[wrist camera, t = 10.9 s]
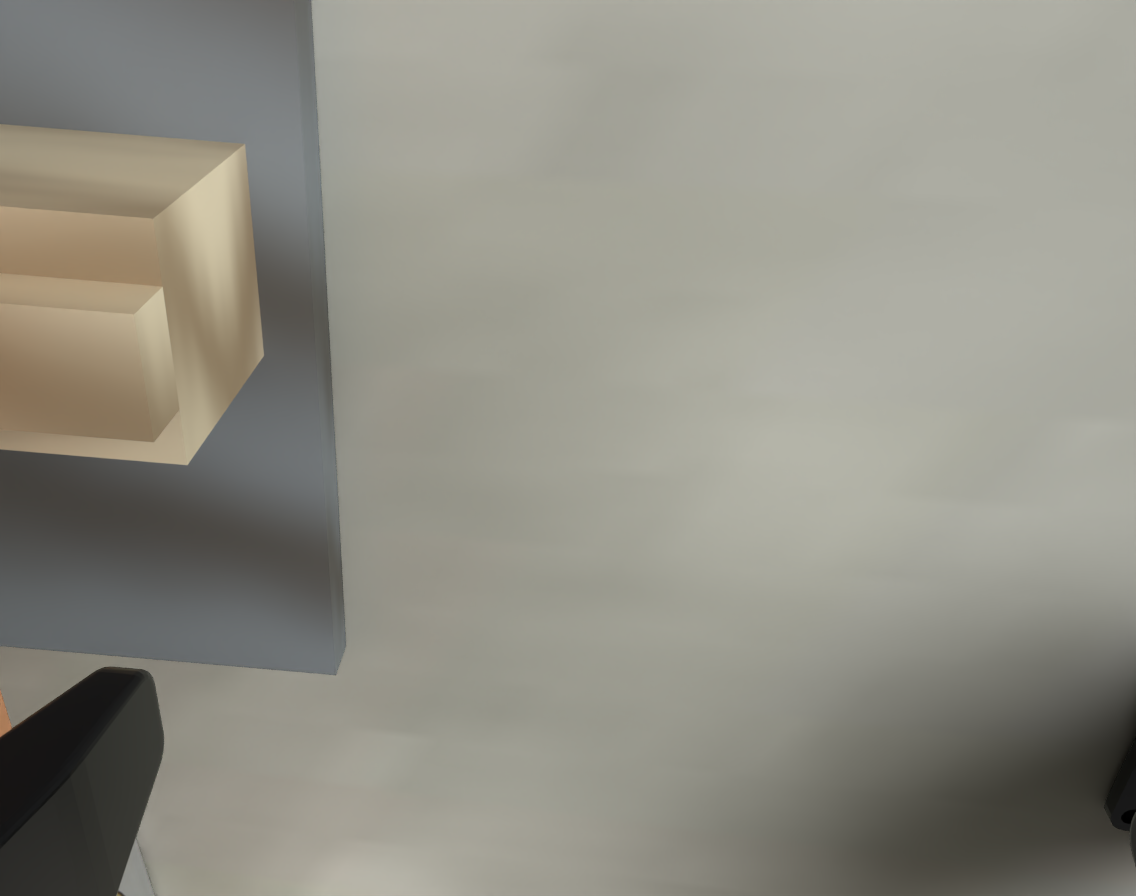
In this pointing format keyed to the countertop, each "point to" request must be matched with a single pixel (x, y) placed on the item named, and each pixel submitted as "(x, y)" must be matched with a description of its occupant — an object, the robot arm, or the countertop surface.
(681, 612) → the countertop surface
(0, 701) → the bar
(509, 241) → the countertop surface
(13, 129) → the ridge
